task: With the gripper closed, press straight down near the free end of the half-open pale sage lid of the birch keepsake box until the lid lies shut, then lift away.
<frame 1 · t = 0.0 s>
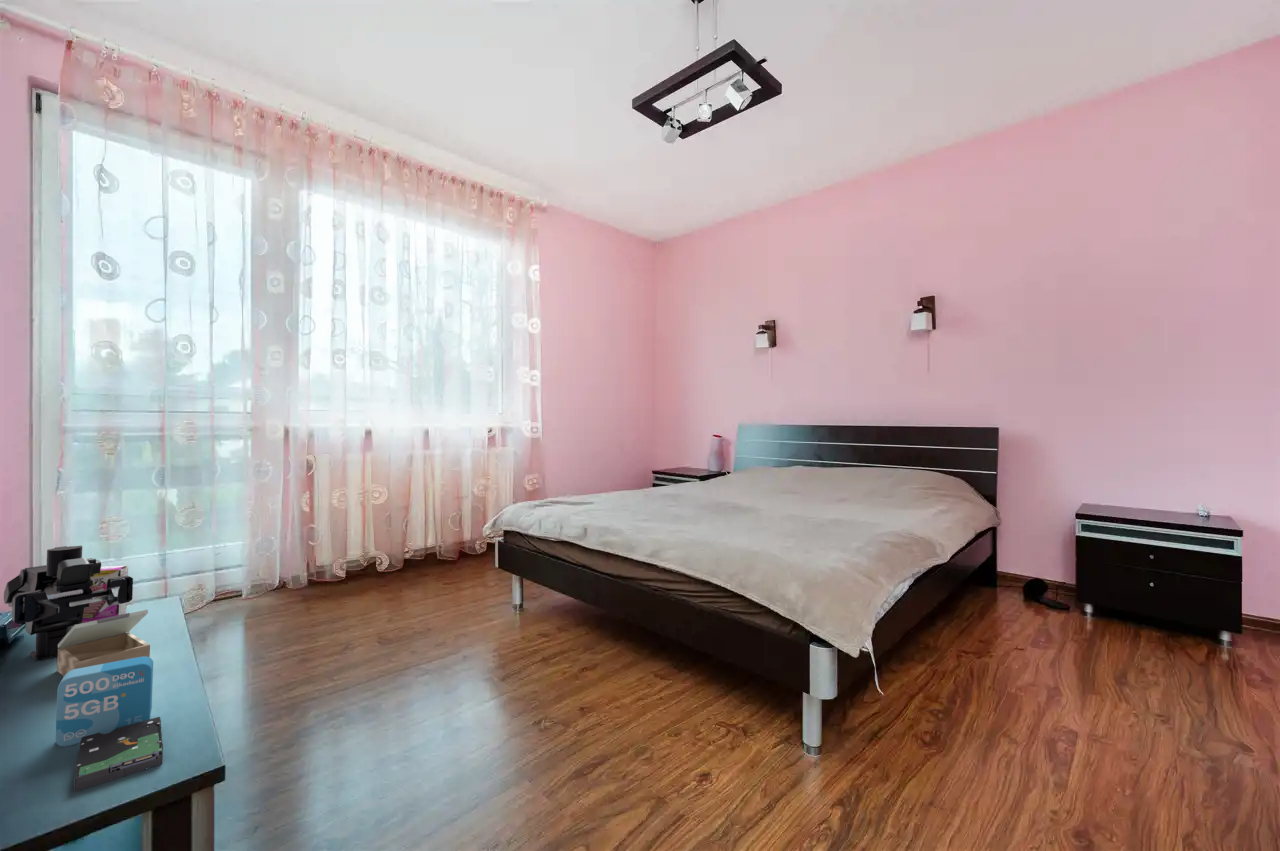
hand: (87, 604, 116), 17 cm above the table, tool horizontal, fingers open, 9 cm apart
candy bar box: (96, 628, 145), on the table
data package: (105, 733, 96), on the table
lid: (103, 628, 122), point 9 cm above the table, hinge at 30.0°
box: (103, 668, 121), on the table
disk drive: (120, 760, 89), on the table
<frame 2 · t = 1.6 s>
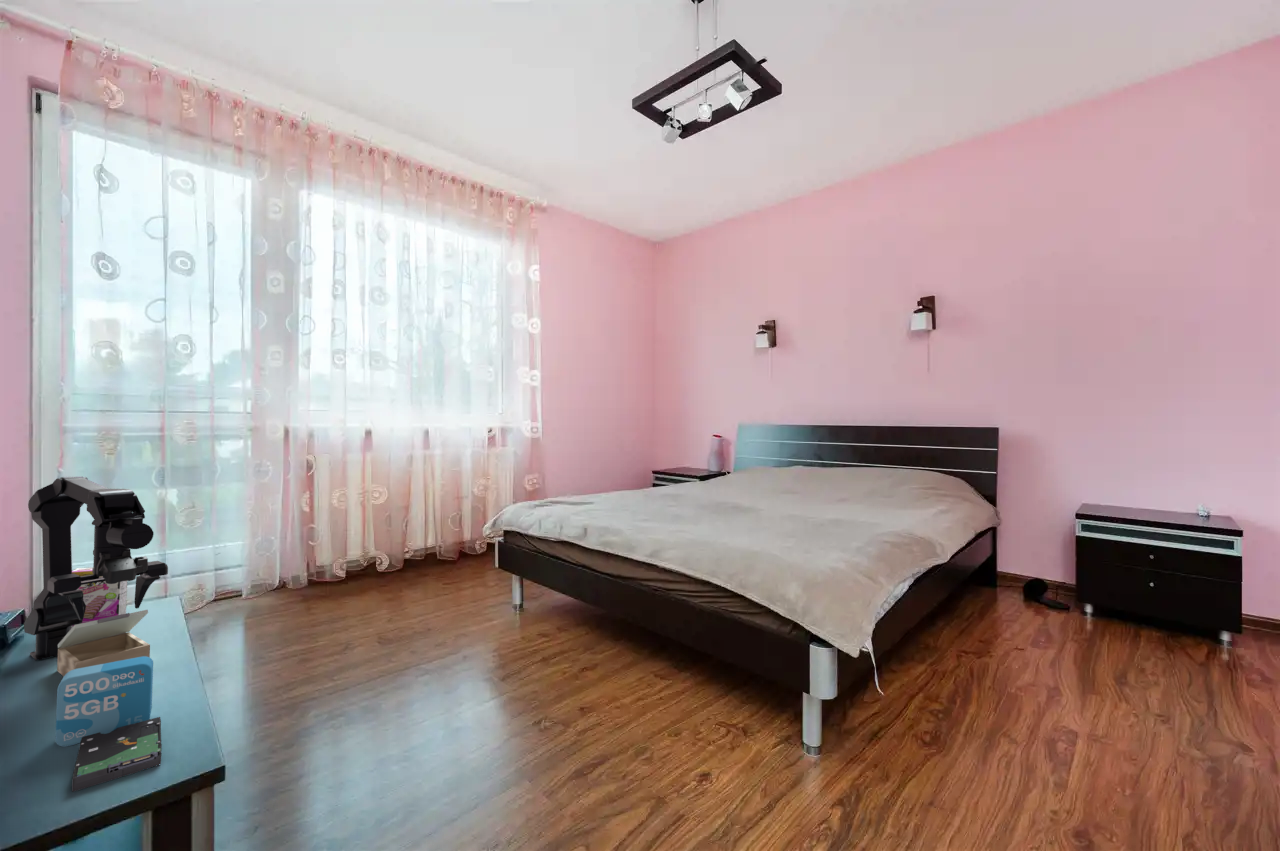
hand: (110, 613, 120), 13 cm above the table, tool pointing down, fingers open, 9 cm apart
nothing on the table moved.
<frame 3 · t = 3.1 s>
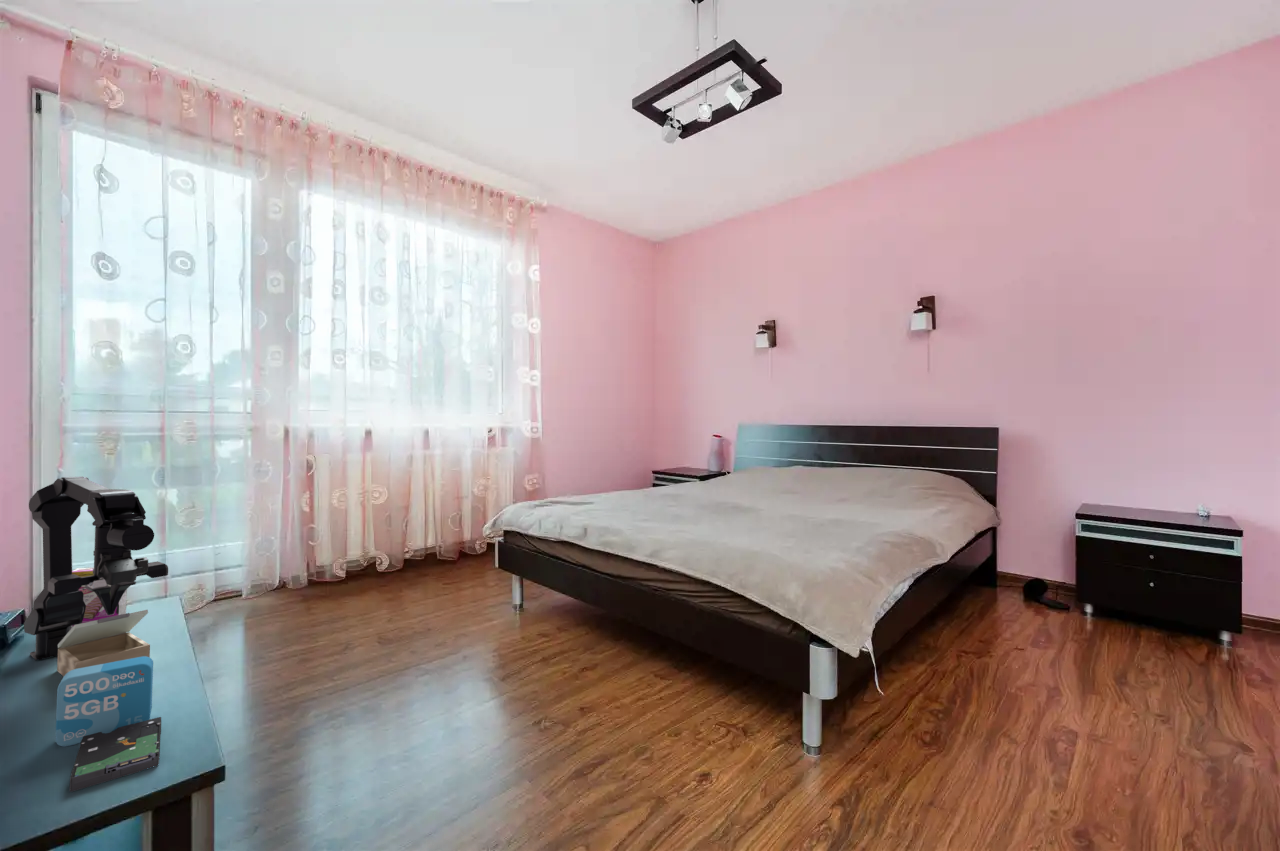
hand: (110, 614, 120), 13 cm above the table, tool pointing down, fingers closed
nothing on the table moved.
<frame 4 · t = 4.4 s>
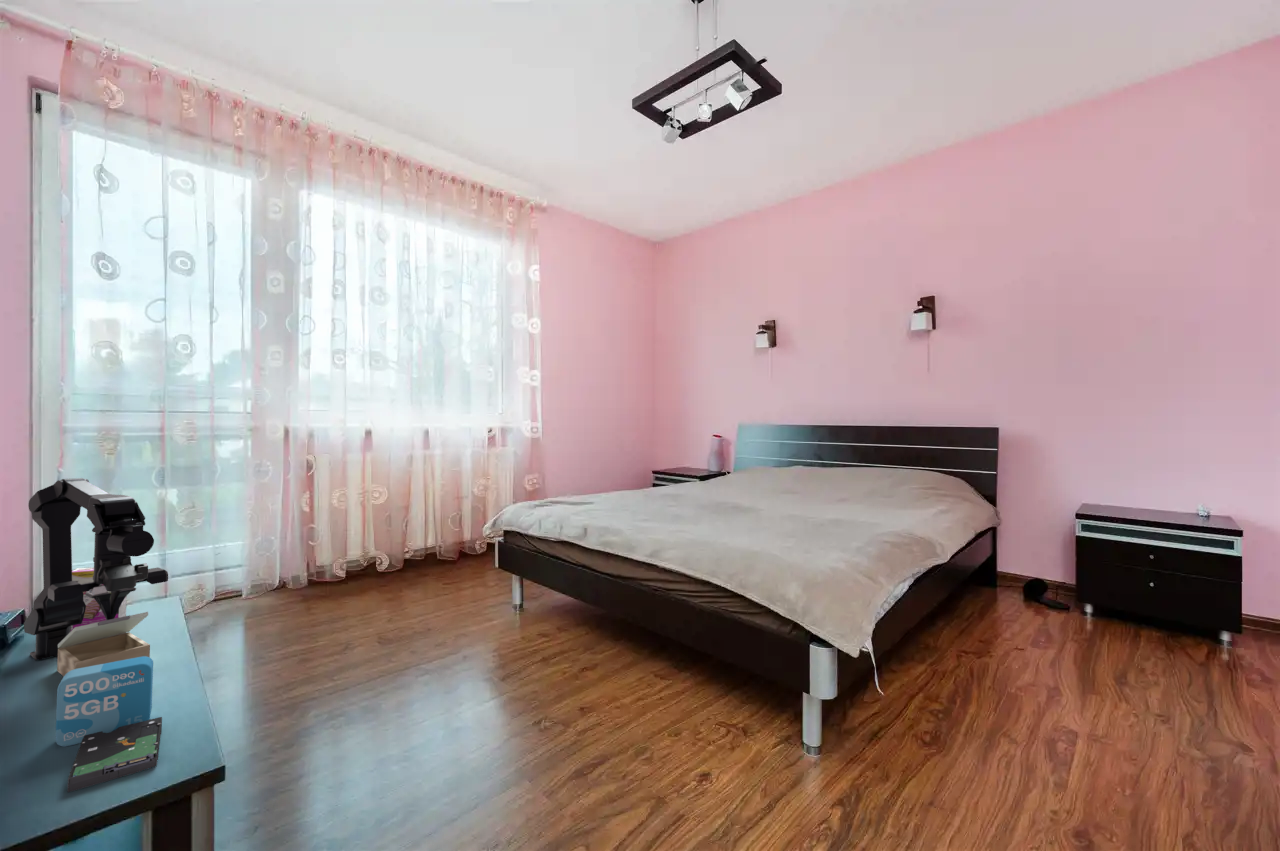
hand: (110, 621, 119), 12 cm above the table, tool pointing down, fingers closed, pressing on lid
lid: (103, 629, 122), point 9 cm above the table, hinge at 27.7°, touching gripper
everything else where it was.
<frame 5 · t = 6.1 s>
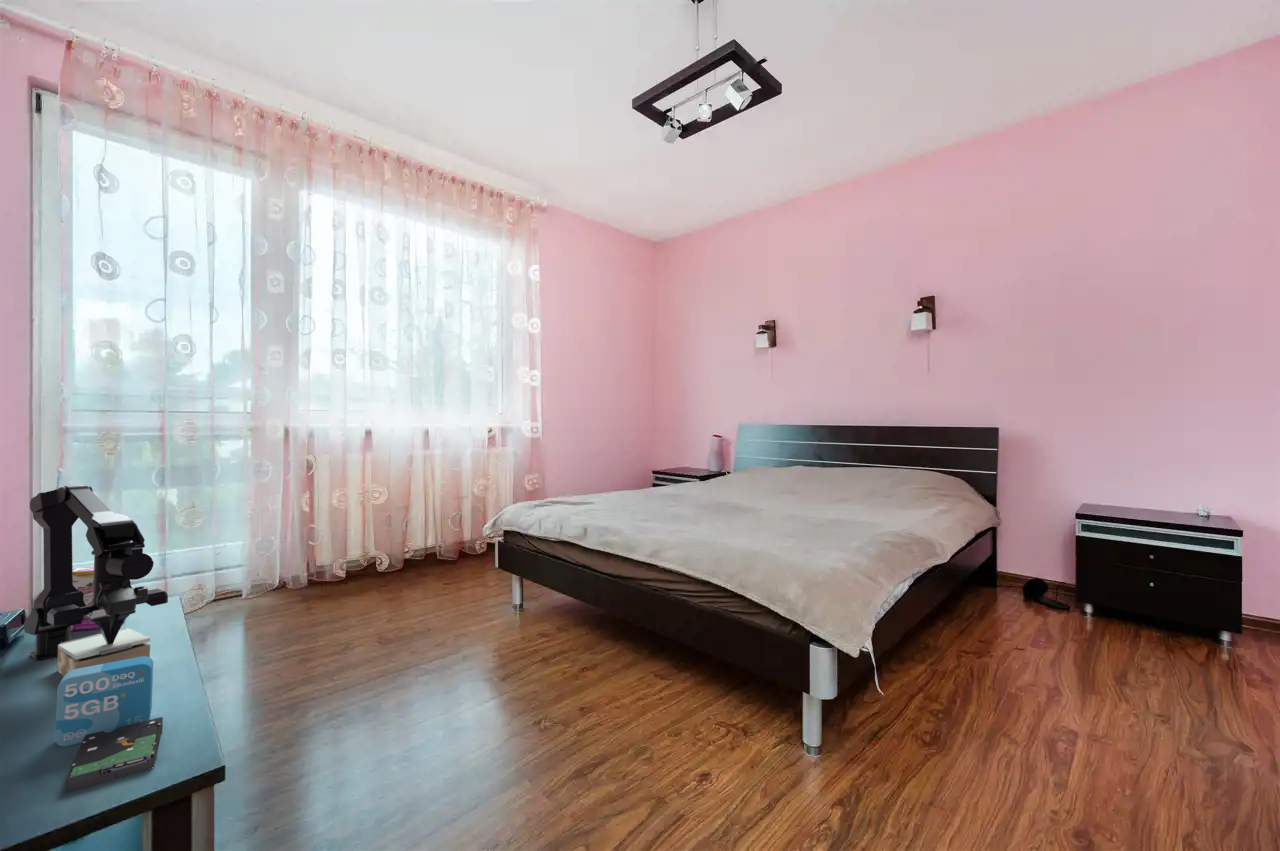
hand: (109, 643, 119), 6 cm above the table, tool pointing down, fingers closed, pressing on lid
lid: (104, 642, 121), point 6 cm above the table, hinge at 2.9°, touching gripper
everything else where it was.
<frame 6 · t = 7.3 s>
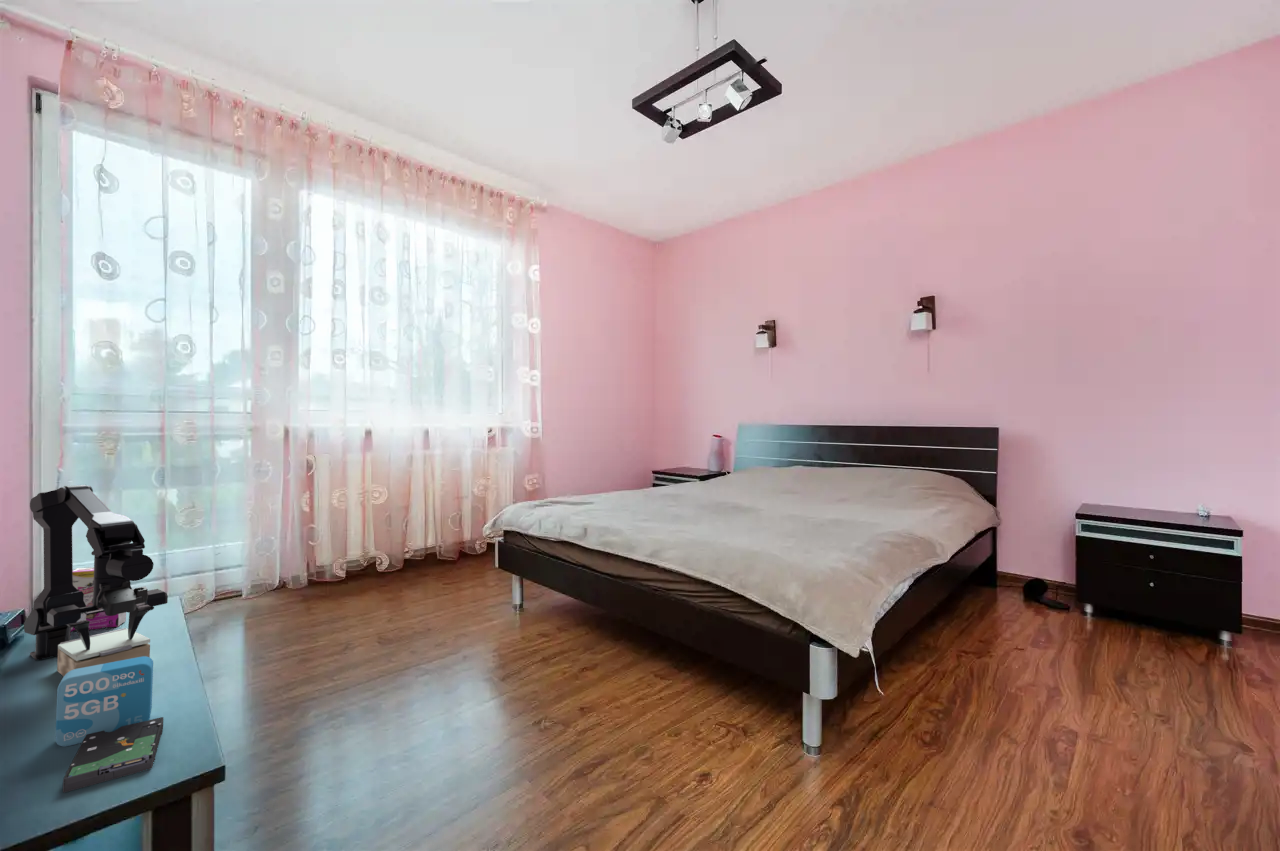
hand: (109, 644, 120), 6 cm above the table, tool pointing down, fingers open, 7 cm apart
lid: (104, 643, 121), point 6 cm above the table, hinge at 1.8°, touching gripper
everything else where it was.
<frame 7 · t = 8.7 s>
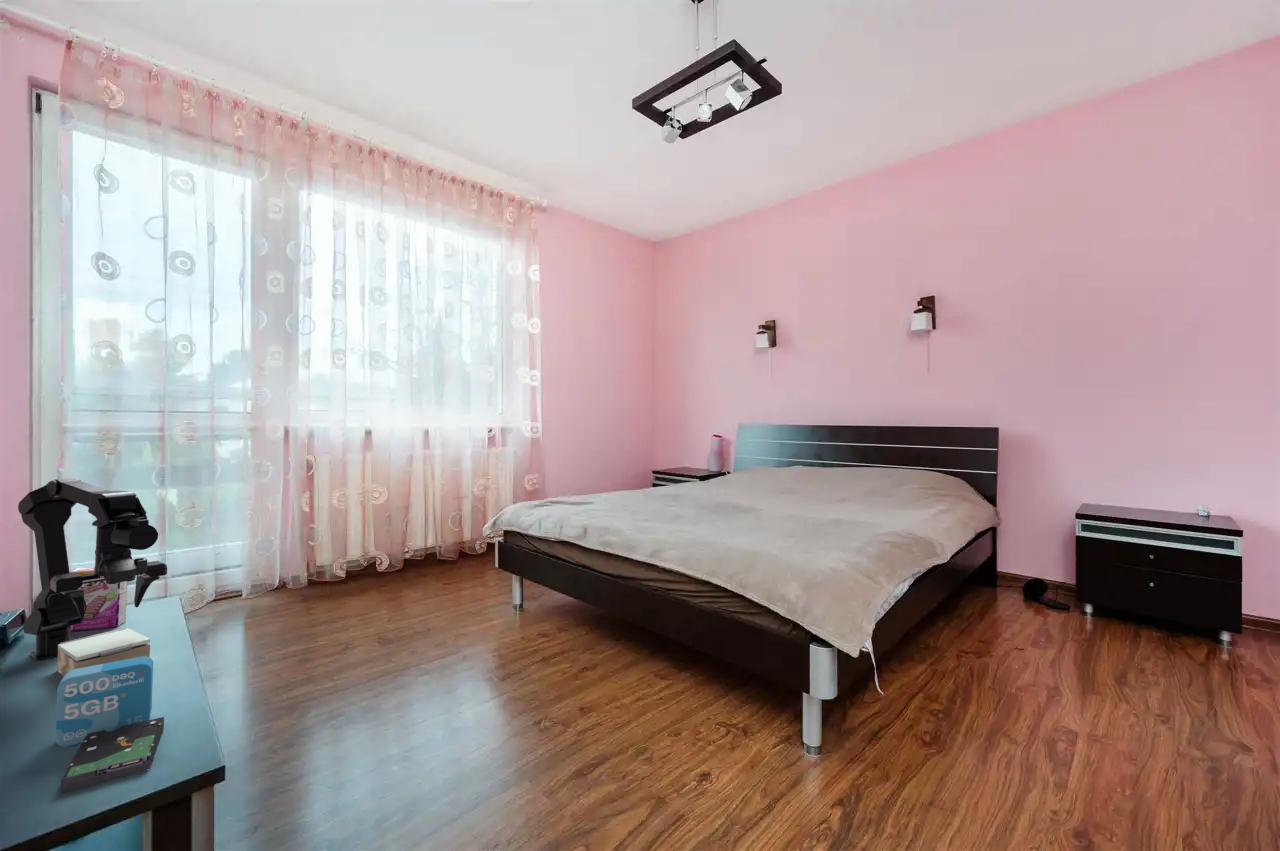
hand: (110, 612, 123), 12 cm above the table, tool pointing down, fingers open, 9 cm apart
lid: (104, 643, 121), point 6 cm above the table, hinge at 1.8°
everything else where it was.
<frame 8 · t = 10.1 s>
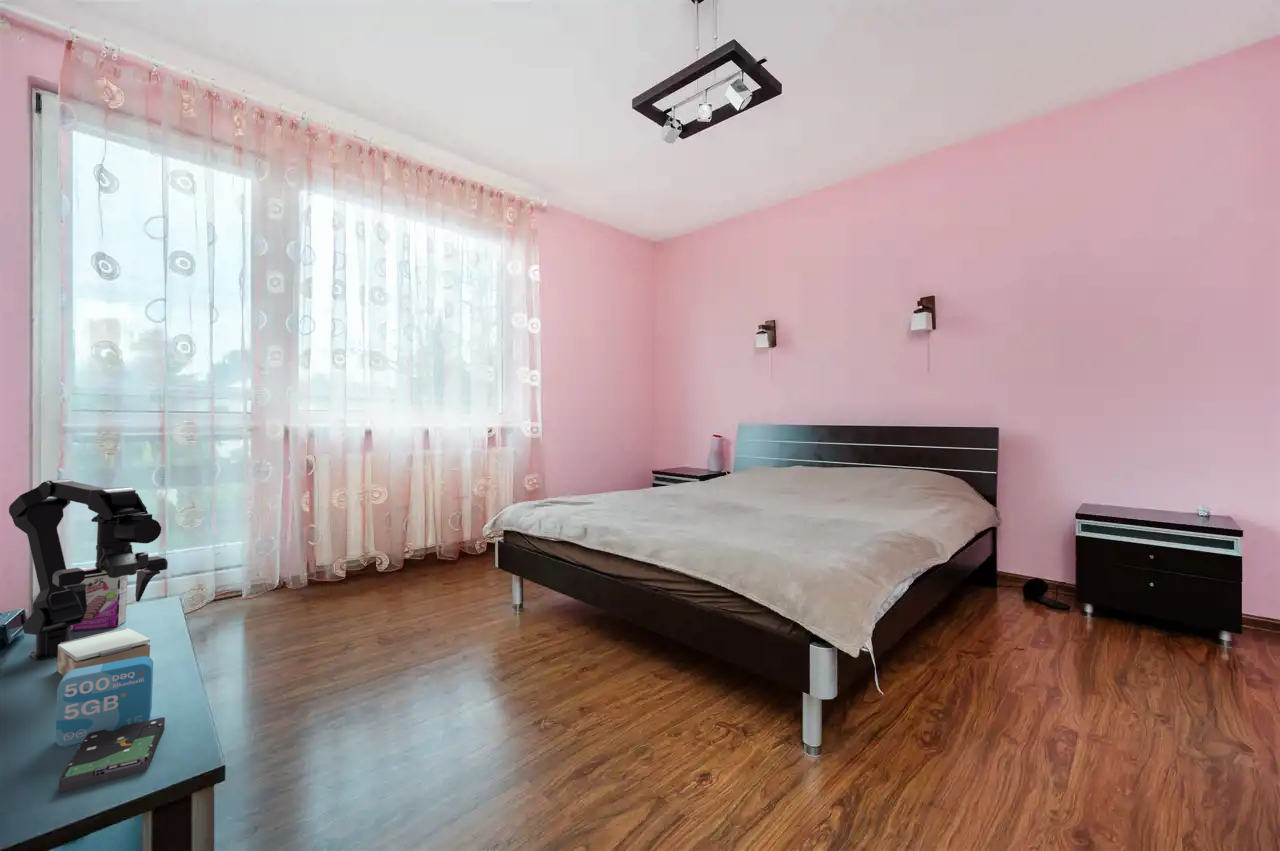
hand: (111, 606, 125), 13 cm above the table, tool pointing down, fingers open, 9 cm apart
nothing on the table moved.
at the end: lid at +2° (first picture: +30°) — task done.
